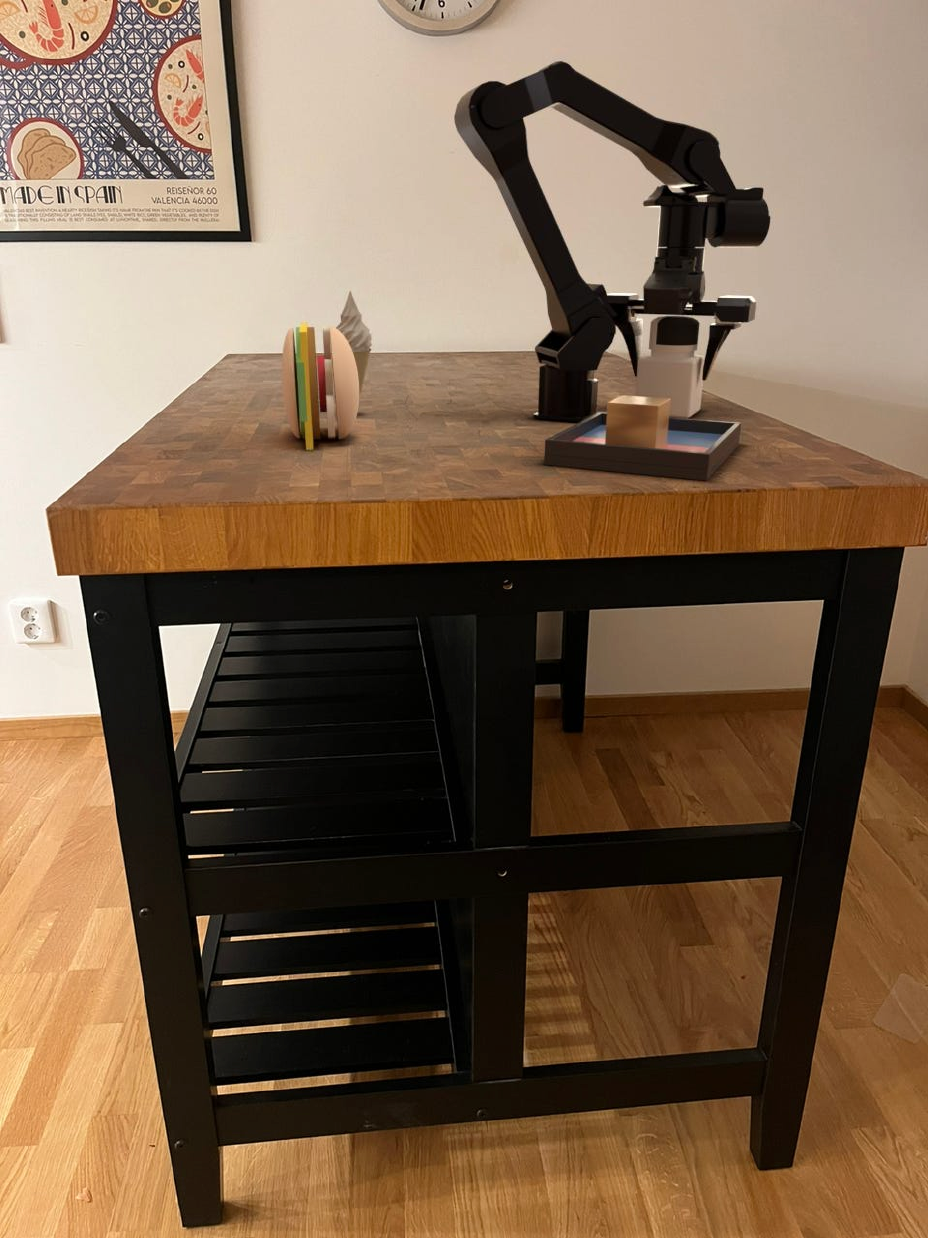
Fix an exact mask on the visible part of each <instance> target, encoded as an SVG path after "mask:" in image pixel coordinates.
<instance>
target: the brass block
mask: <svg viewBox="0 0 928 1238" xmlns="http://www.w3.org/2000/svg"><path fill="white" fill-rule="evenodd" d="M670 400H671V399H669V398H654V397H639V396H635V395H624V394H623V395H620V396H617V397H616V398H614V399H612V400H610V401H608V402H607V407H606V413H607V421H606V438H605V444H613V445H624V446H636V447H647V448H658V449H666V447H667V435H668V423H669V411H670Z"/></svg>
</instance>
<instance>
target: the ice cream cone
mask: <svg viewBox="0 0 928 1238" xmlns="http://www.w3.org/2000/svg"><path fill="white" fill-rule="evenodd" d="M356 303H357V302H356V301H355V299H354V297H353V294H352V290H350V291H349V293H348V295H347V299H346V302H345V304H344V308H343V310H342V312H341V313H340V315H339V316H340V323H338V325H337V326H336V327H335V328H336V329H338V330H339V331H340V332H341V333H342V334H343V335H344V336H345V338H346V339H347V341H348V343H349V345H350V347H351V349H352V352H353V355H354V358H355V362H356V366H357V371H358V379H359V400H360V399H361V394H362V390H363V385H364V382H365V381H364V380H365V376H366V372H367V368H368V364H369V359H370V355H371V351H372V348H371V347H372V339H373V337H372V333H371V332H370V328H369V327H368V326H367V325H366V324H365V323H364V322H363V314H362V313H361V312H360V310H359V308H358V306H357V304H356Z"/></svg>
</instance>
